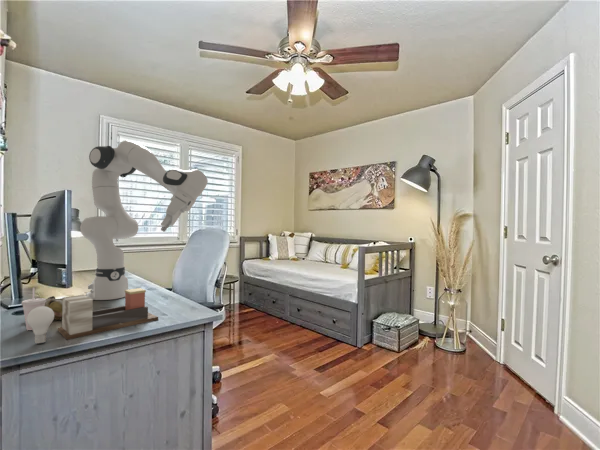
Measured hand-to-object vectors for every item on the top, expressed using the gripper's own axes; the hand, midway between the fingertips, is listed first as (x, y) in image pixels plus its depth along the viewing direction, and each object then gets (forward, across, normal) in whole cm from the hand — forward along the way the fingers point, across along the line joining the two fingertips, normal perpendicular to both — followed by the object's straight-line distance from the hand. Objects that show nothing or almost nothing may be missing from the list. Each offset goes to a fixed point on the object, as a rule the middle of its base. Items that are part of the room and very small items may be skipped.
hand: (162, 228), depth 129 cm
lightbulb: (+51, +16, -6) cm, 53 cm away
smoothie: (+51, -1, -14) cm, 53 cm away
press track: (+39, +4, +6) cm, 40 cm away
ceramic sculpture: (+47, -12, -13) cm, 51 cm away
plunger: (+33, +1, +11) cm, 35 cm away
